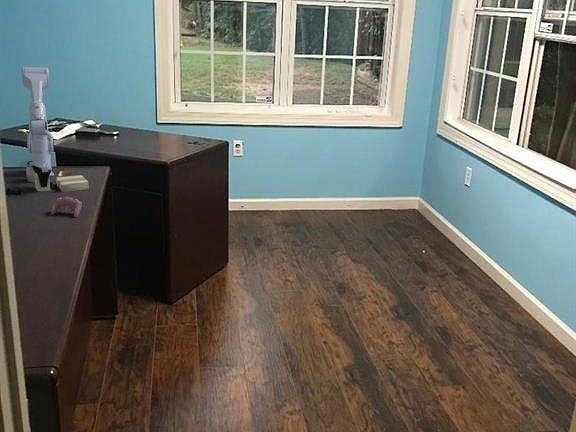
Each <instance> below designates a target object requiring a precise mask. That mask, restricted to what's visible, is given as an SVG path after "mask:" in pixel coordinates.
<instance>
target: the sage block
mask: <svg viewBox="0 0 576 432" xmlns="http://www.w3.org/2000/svg"><path fill="white" fill-rule="evenodd" d="M34 175H35V183H34V188H35V190H36V191H37V192H44V191H47V192H48V191H51V183H50V177H49V178H48V184H47V187H41V186H40V182H39V178H38V175H37V173H34Z"/></svg>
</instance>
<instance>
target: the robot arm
mask: <svg viewBox="0 0 576 432" xmlns="http://www.w3.org/2000/svg"><path fill="white" fill-rule="evenodd" d="M49 70H50V69H49V68H48V66H46V67H40V66H39V67H38V66H37V67H35V66H33V67H32V66H22V67H21V79H22V85H23V87H24V88H27V89H29V91H30V95H31V102H30V104H29V106H28V110H29V120H28V130H29V131H28V133H27V137H26V138H27V139H26V144H27V152H28V153H29V154H31V156H30V157H31V159H30V161H33V162H30V165H32V168H33V170H34V172H35V173H37V175H38V178H39V182H40V186H41V187H47V184H48V178H49V179H50V177H53V176H55V174H54V172H53V171H52V160H51V157H52V156H51V153H53V152H54V139H53V135H52V133H51V132H50V131H49V126H48V120H47V119H48V118H47V111H46V110H47V109H46V104H45V103H44V96H43V93H44V91H45V89H48V88H49V86H50V73H49Z"/></svg>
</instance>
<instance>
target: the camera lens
mask: <svg viewBox="0 0 576 432" xmlns="http://www.w3.org/2000/svg"><path fill="white" fill-rule="evenodd" d="M30 162H33V161H32V160H29V161H28V162H26V163H25V171H26V172H25V173H26V179H27V181H28V182H29V183H34V184H35V175H34V173H35V172H34V170H33V168H32V165H30Z"/></svg>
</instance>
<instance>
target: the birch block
mask: <svg viewBox="0 0 576 432" xmlns="http://www.w3.org/2000/svg"><path fill="white" fill-rule="evenodd" d="M55 181H56V183H55V184H57V185H56V186H57V187H58V188H59V189H60V191H61V192H62V193H66V192H76V191H85V190H86V191H87V190H90V188H89V187H90V186H89V181H88V180H87V179H86V178H85V177H84V176H83V175H82V174H81V175H69V176H57V177H55Z"/></svg>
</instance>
